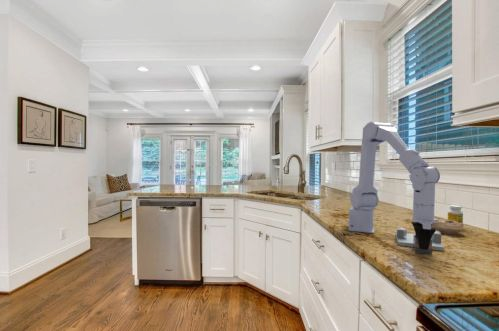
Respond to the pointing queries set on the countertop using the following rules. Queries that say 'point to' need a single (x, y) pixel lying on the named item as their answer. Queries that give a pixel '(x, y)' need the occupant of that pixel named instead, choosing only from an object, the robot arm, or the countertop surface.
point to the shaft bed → (407, 238)
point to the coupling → (417, 248)
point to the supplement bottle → (455, 214)
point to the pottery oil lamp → (448, 226)
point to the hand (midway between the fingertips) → (422, 246)
